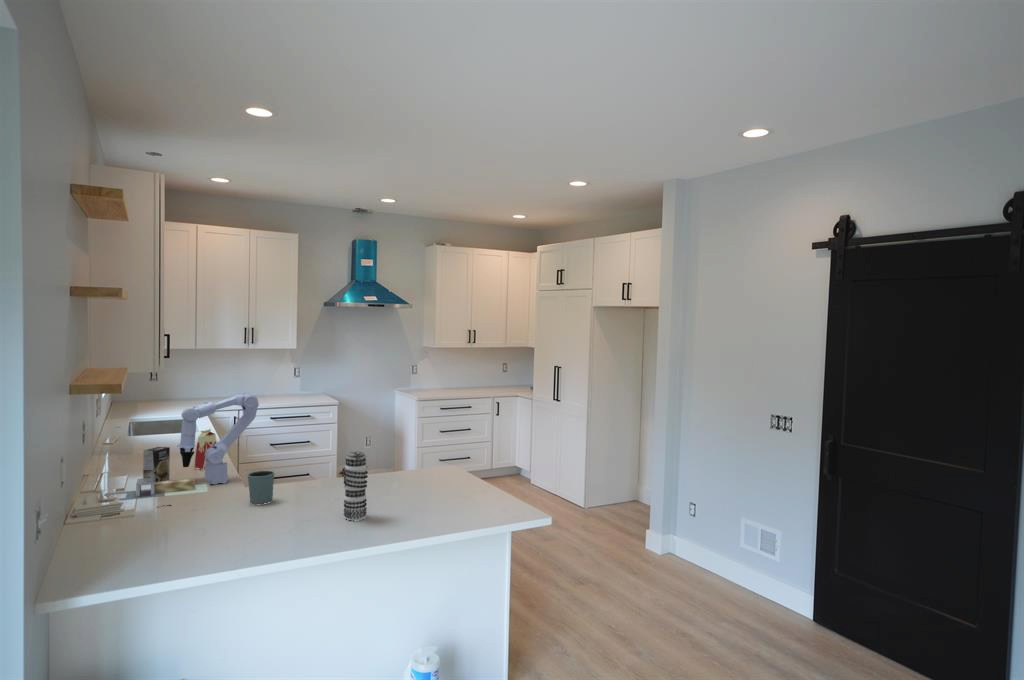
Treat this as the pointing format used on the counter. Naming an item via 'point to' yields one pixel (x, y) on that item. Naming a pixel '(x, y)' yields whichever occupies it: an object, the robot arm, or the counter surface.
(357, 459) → the striped cylindrical tower
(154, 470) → the coffee box
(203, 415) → the robot arm
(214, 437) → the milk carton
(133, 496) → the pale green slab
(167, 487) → the oak bar
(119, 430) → the counter surface
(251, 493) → the green cup
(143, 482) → the tunnel
